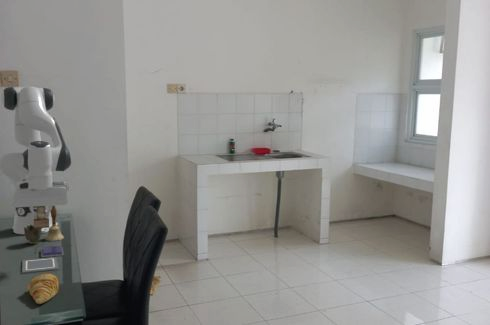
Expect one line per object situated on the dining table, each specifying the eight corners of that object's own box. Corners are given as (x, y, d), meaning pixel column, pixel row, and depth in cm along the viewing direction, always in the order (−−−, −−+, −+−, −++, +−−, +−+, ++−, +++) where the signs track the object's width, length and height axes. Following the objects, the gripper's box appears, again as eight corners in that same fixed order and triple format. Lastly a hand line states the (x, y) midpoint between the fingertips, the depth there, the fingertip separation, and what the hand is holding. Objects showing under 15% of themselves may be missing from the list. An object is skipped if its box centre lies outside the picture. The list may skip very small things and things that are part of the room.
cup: (35, 247, 208) (34, 230, 207) (20, 245, 210) (20, 228, 209) (45, 242, 216) (45, 225, 214) (31, 240, 217) (31, 223, 216)
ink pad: (40, 250, 205) (40, 247, 204) (62, 248, 208) (62, 245, 208) (41, 257, 197) (41, 253, 196) (63, 255, 200) (63, 251, 200)
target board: (22, 261, 191) (22, 260, 191) (56, 258, 196) (56, 256, 196) (22, 273, 179) (22, 271, 179) (58, 269, 185) (58, 268, 185)
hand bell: (45, 242, 216) (45, 208, 214) (44, 236, 223) (43, 204, 221) (64, 240, 220) (64, 207, 217) (62, 235, 227) (62, 203, 225)
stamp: (33, 225, 188) (33, 205, 187) (48, 223, 190) (48, 204, 189) (33, 228, 183) (33, 208, 182) (49, 227, 185) (48, 207, 184)
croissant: (49, 315, 155) (60, 295, 155) (19, 304, 152) (31, 283, 152) (55, 288, 175) (65, 269, 175) (29, 278, 172) (39, 259, 172)
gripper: (67, 180, 191) (68, 213, 193) (12, 182, 183) (13, 216, 185) (69, 183, 186) (69, 216, 187) (11, 185, 177) (12, 220, 179)
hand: (41, 216), depth 186 cm, fingers closed on stamp, 3 cm apart
